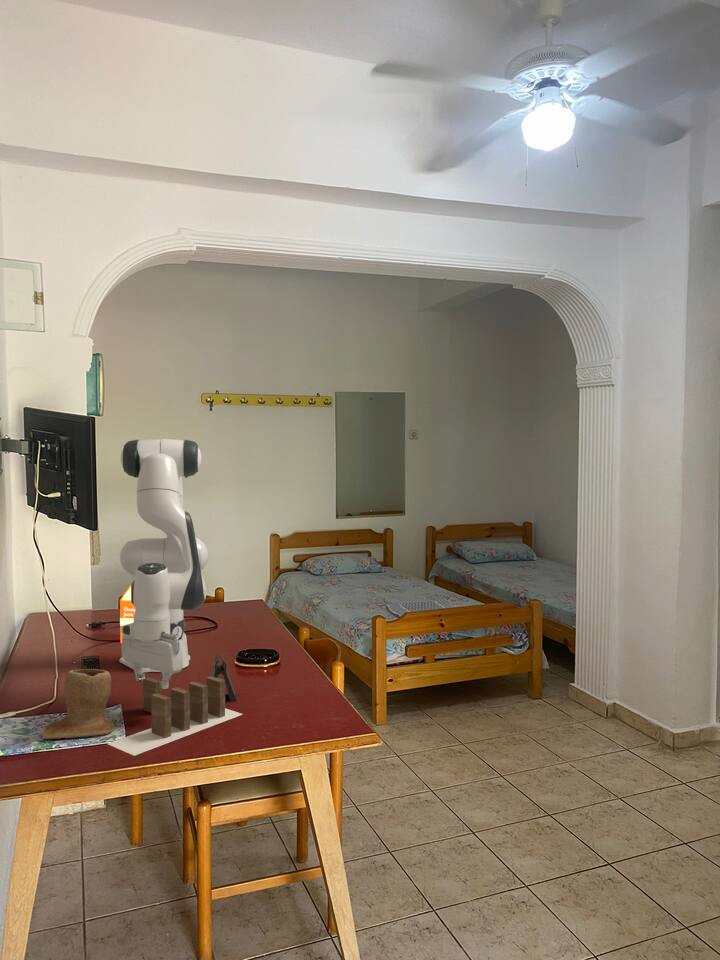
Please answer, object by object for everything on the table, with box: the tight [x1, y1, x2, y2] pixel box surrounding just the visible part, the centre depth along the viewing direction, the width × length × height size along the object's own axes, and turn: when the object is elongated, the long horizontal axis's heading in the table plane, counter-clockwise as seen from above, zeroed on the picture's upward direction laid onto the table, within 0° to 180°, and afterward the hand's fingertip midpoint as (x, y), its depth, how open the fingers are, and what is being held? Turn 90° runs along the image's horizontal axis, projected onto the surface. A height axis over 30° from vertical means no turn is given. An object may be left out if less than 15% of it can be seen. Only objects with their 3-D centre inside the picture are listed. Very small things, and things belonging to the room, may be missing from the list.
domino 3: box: [170, 687, 190, 731], centre depth 180 cm, size 2×5×9 cm, turn 52°
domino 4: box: [188, 681, 208, 724], centre depth 184 cm, size 2×5×9 cm, turn 52°
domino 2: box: [151, 693, 171, 738], centre depth 176 cm, size 2×5×9 cm, turn 52°
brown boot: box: [42, 668, 115, 740], centre depth 178 cm, size 15×12×15 cm
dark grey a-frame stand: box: [209, 654, 238, 703], centre depth 200 cm, size 9×6×12 cm, turn 104°
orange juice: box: [119, 584, 135, 644], centre depth 260 cm, size 8×9×20 cm
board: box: [107, 707, 243, 757], centre depth 180 cm, size 10×32×1 cm, turn 142°
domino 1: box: [142, 676, 162, 714], centre depth 191 cm, size 2×5×9 cm, turn 52°
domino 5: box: [206, 676, 226, 718], centre depth 189 cm, size 2×5×9 cm, turn 52°
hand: (152, 684), depth 190 cm, fingers open, 8 cm apart
